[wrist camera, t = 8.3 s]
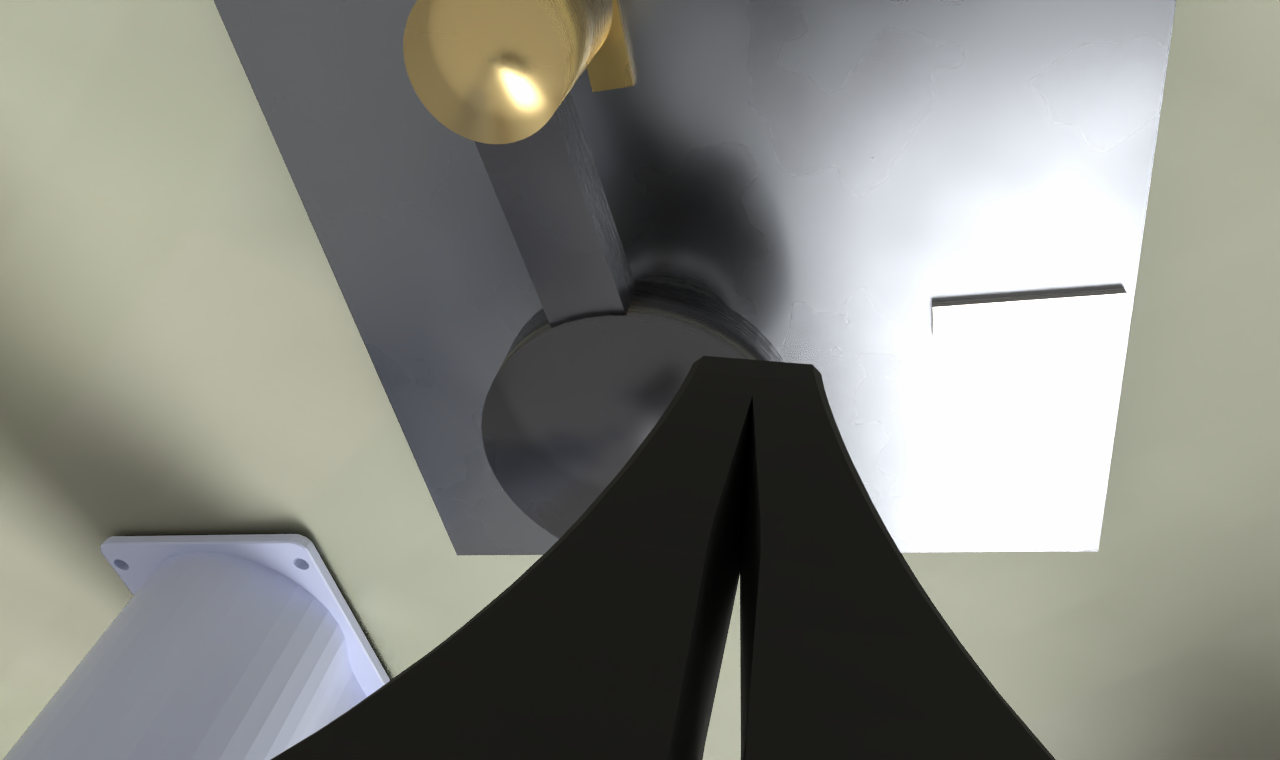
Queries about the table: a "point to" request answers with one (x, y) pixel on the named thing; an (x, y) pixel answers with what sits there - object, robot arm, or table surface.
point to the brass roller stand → (561, 255)
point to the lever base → (775, 229)
